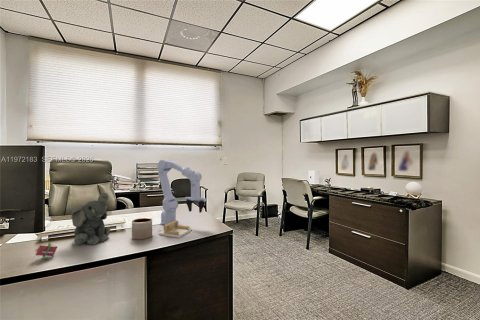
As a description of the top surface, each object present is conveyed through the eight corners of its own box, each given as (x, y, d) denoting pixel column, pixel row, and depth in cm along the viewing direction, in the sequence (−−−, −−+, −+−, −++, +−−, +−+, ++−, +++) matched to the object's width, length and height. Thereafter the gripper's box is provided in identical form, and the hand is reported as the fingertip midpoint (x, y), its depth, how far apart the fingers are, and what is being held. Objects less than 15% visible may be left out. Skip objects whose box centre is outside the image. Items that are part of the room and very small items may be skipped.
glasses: (189, 228, 143) (188, 221, 143) (177, 234, 132) (177, 226, 132) (175, 227, 146) (175, 220, 146) (163, 233, 135) (163, 225, 135)
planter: (127, 238, 130) (127, 221, 130) (143, 232, 140) (143, 216, 140) (140, 241, 125) (140, 223, 125) (156, 235, 135) (156, 219, 135)
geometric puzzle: (59, 247, 110) (46, 237, 107) (63, 251, 106) (49, 240, 102) (44, 260, 106) (29, 250, 102) (47, 265, 102) (32, 254, 98)
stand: (190, 231, 143) (190, 226, 143) (179, 237, 131) (179, 232, 131) (171, 228, 147) (171, 224, 147) (159, 234, 136) (159, 230, 136)
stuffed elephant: (107, 245, 119) (107, 193, 119) (61, 248, 116) (61, 194, 115) (119, 233, 138) (119, 188, 138) (80, 235, 134) (80, 188, 134)
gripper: (182, 191, 150) (182, 212, 150) (202, 192, 146) (202, 214, 146) (188, 189, 157) (188, 209, 157) (207, 191, 152) (207, 211, 152)
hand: (195, 211), depth 152 cm, fingers open, 7 cm apart
